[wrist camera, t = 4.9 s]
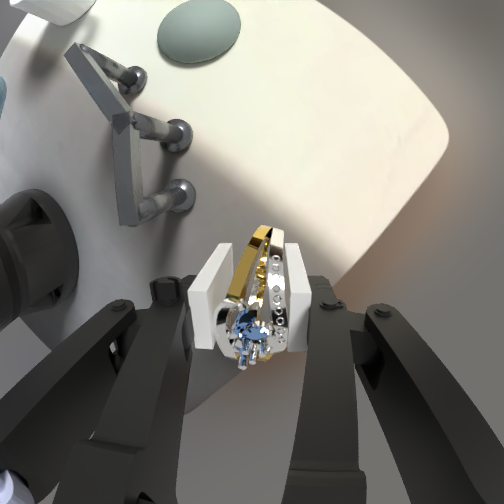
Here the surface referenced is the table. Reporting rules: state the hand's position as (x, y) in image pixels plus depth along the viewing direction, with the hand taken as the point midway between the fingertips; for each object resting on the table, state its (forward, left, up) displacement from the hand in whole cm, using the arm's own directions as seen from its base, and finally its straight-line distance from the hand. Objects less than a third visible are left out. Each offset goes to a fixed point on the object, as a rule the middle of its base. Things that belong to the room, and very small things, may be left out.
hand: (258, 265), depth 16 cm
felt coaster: (-5, +20, -9) cm, 23 cm away
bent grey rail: (-10, +10, -9) cm, 16 cm away
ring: (0, -1, -1) cm, 2 cm away
